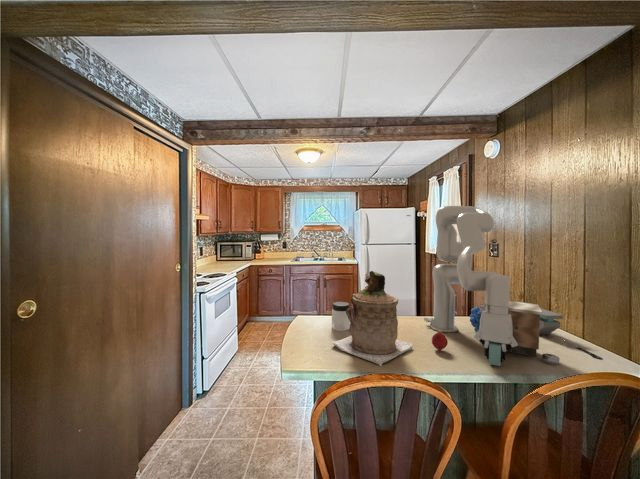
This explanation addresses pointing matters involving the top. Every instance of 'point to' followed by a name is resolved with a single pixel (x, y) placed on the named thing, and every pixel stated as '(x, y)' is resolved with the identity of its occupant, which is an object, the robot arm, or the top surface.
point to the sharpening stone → (548, 321)
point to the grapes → (475, 318)
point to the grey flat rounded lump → (550, 359)
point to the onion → (439, 340)
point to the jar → (340, 316)
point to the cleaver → (570, 345)
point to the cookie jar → (373, 324)
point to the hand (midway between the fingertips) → (494, 359)
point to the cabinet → (525, 327)
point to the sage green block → (494, 353)
